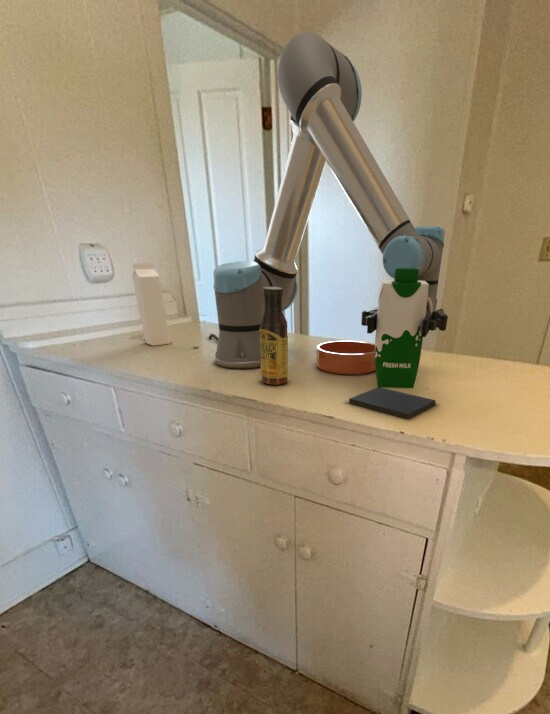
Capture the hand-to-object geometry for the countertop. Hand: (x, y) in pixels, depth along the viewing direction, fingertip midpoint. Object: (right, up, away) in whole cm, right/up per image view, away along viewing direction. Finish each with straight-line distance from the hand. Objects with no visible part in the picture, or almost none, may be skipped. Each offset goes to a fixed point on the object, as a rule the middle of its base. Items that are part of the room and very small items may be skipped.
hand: (396, 327), depth 76 cm
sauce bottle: (-24, -3, +24) cm, 34 cm away
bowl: (-6, +6, +37) cm, 38 cm away
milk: (-65, +21, +60) cm, 91 cm away
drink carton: (+1, -7, +10) cm, 12 cm away
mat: (+1, -11, +12) cm, 16 cm away
